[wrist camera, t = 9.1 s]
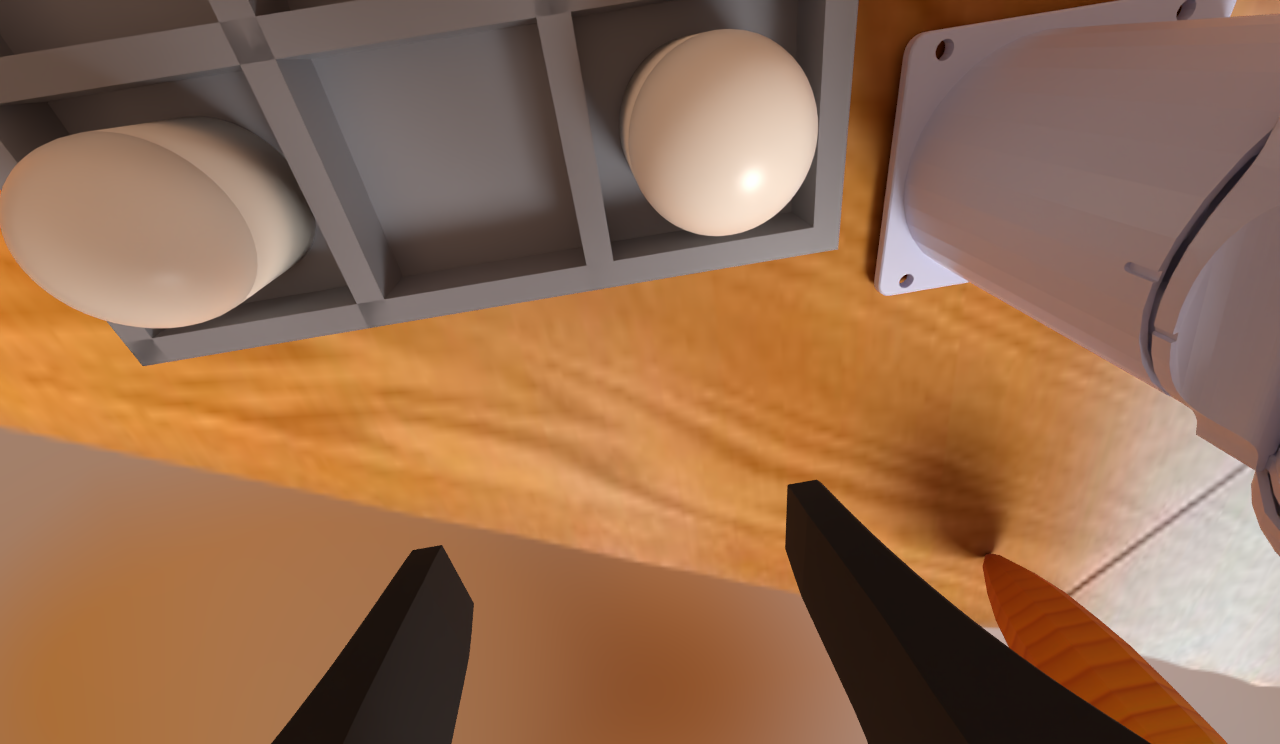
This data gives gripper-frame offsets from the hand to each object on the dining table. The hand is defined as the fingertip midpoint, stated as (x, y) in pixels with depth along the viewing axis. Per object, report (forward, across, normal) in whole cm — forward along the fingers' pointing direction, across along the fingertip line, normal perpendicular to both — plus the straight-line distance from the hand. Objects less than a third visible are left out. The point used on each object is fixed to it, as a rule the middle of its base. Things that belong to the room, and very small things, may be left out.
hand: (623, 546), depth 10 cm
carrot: (+10, -19, +18) cm, 28 cm away
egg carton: (+9, +3, -10) cm, 14 cm away
